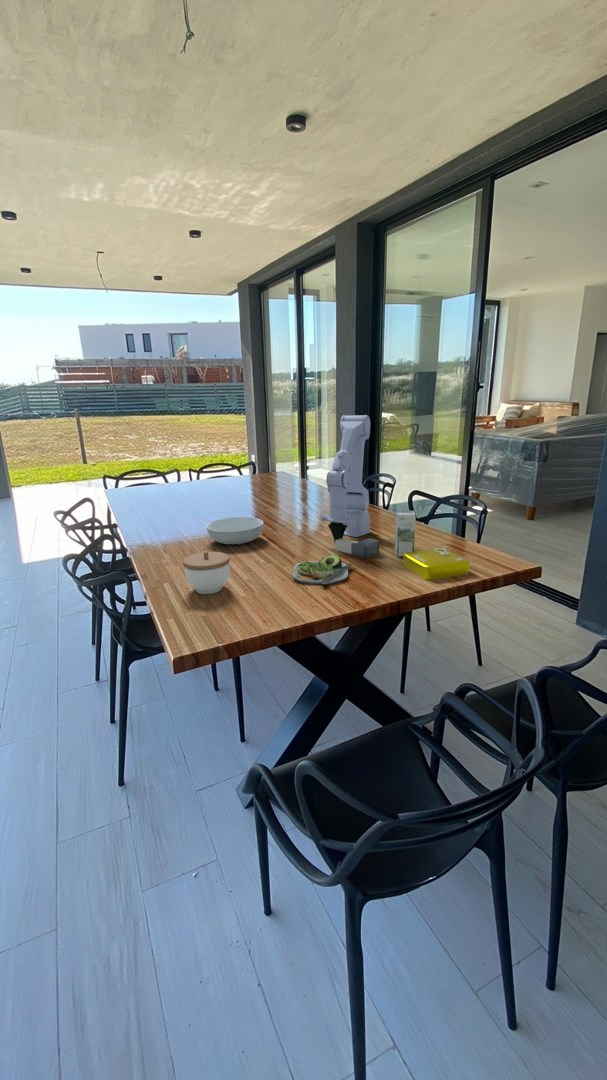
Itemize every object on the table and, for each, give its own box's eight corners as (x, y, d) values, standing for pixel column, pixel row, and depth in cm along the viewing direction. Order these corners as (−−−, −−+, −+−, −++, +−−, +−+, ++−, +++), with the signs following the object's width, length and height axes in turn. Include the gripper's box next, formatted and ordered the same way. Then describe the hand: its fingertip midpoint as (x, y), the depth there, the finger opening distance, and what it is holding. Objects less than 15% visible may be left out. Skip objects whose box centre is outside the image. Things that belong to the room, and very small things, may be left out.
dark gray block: (365, 550, 168) (365, 537, 167) (379, 553, 164) (379, 540, 163) (351, 554, 164) (351, 541, 162) (365, 558, 159) (365, 545, 158)
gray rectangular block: (342, 547, 172) (342, 538, 171) (369, 554, 164) (369, 544, 163) (335, 549, 169) (335, 540, 168) (362, 557, 161) (362, 546, 160)
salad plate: (352, 589, 135) (352, 574, 134) (288, 589, 137) (287, 573, 136) (352, 566, 154) (352, 552, 153) (295, 566, 156) (295, 552, 154)
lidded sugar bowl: (211, 578, 146) (208, 542, 143) (240, 587, 139) (238, 550, 135) (176, 591, 137) (172, 553, 134) (206, 601, 129) (202, 562, 126)
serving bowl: (202, 538, 188) (200, 521, 186) (253, 531, 196) (252, 514, 195) (216, 553, 170) (214, 534, 168) (272, 544, 178) (271, 525, 176)
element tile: (400, 565, 153) (401, 551, 152) (442, 559, 158) (443, 545, 156) (427, 582, 139) (427, 566, 138) (471, 574, 144) (472, 559, 143)
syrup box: (412, 552, 165) (413, 509, 161) (414, 557, 159) (415, 514, 155) (394, 552, 165) (395, 509, 161) (396, 557, 160) (397, 514, 156)
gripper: (314, 504, 170) (315, 542, 174) (346, 510, 160) (346, 550, 164) (328, 501, 175) (329, 537, 179) (360, 506, 165) (359, 545, 169)
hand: (338, 543), depth 172 cm, fingers closed
